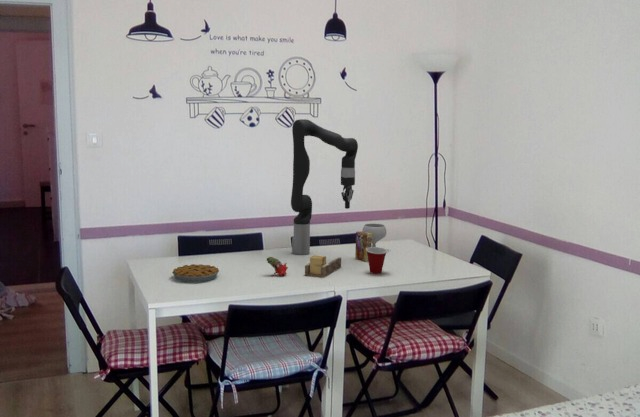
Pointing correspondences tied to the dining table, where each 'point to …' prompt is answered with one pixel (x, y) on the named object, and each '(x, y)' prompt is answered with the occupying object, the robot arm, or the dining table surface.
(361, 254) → the candy box
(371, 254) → the plastic cup
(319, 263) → the block
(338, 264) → the chute
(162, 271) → the dining table surface
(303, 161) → the robot arm
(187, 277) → the pie
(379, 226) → the chalice
